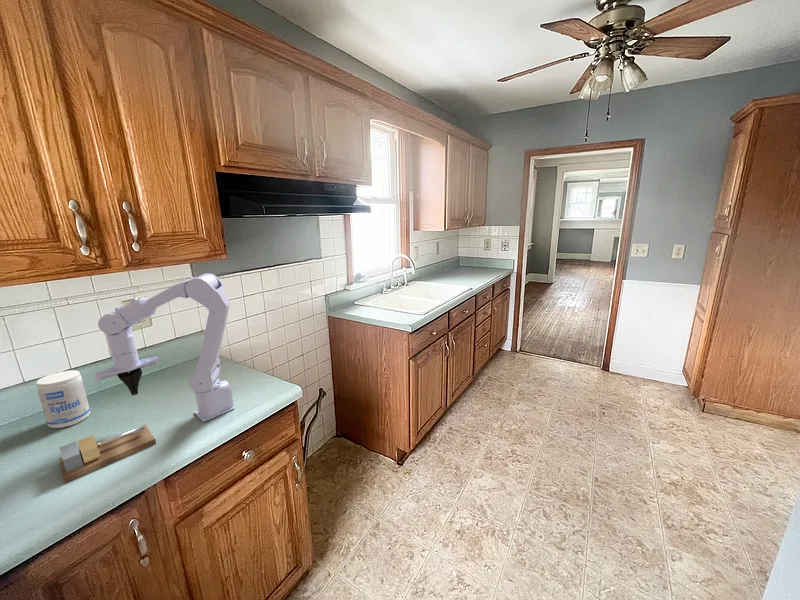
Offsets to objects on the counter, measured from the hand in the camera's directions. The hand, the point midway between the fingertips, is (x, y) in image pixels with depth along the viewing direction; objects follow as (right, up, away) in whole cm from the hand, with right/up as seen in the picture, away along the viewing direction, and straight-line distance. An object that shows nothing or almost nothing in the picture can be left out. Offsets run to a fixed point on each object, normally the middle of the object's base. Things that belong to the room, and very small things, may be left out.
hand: (134, 393), depth 99 cm
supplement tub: (-23, -9, +4) cm, 25 cm away
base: (+3, -13, -11) cm, 17 cm away
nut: (0, -11, -14) cm, 18 cm away
